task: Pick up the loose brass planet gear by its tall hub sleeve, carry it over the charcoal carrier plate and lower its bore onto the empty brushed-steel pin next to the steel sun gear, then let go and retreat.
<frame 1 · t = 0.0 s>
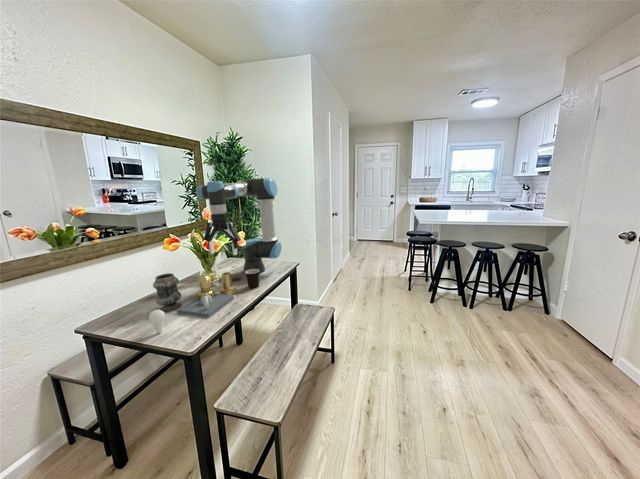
hand: (223, 254, 141), 28 cm above the table, fingers open, 13 cm apart
seated planet gear: (206, 296, 153), resting on carrier plate
planet gear: (228, 292, 162), on the table
lightbulb: (160, 333, 122), on the table
apothecary jar: (170, 307, 146), on the table
carrier plate: (207, 305, 146), on the table
coffee mug: (254, 285, 171), on the table
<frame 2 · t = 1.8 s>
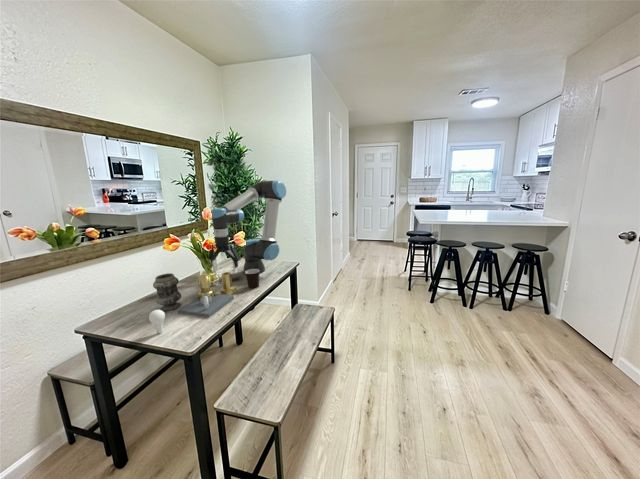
hand: (225, 271, 158), 13 cm above the table, fingers open, 13 cm apart
nothing on the table moved.
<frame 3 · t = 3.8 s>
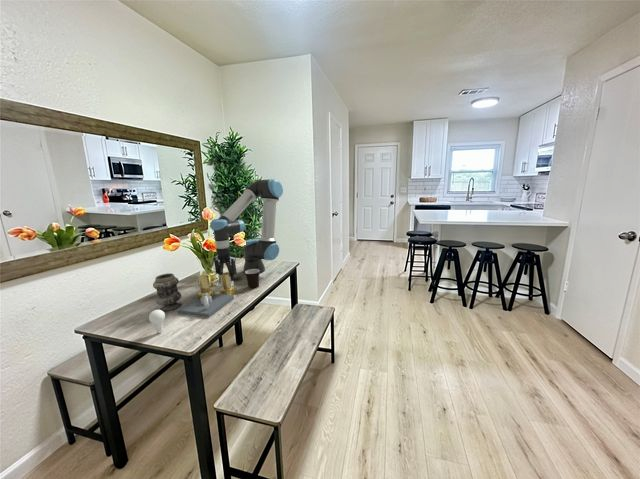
hand: (227, 285, 160), 5 cm above the table, fingers closed on planet gear, 5 cm apart
planet gear: (228, 292, 162), on the table, touching gripper
everything else where it was.
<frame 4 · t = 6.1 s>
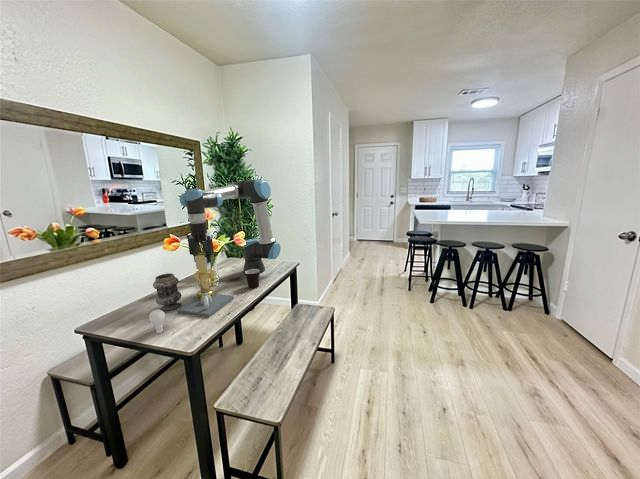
hand: (203, 268, 136), 23 cm above the table, fingers closed on planet gear, 5 cm apart
planet gear: (204, 277, 137), point 18 cm above the table, touching gripper
everything else where it was.
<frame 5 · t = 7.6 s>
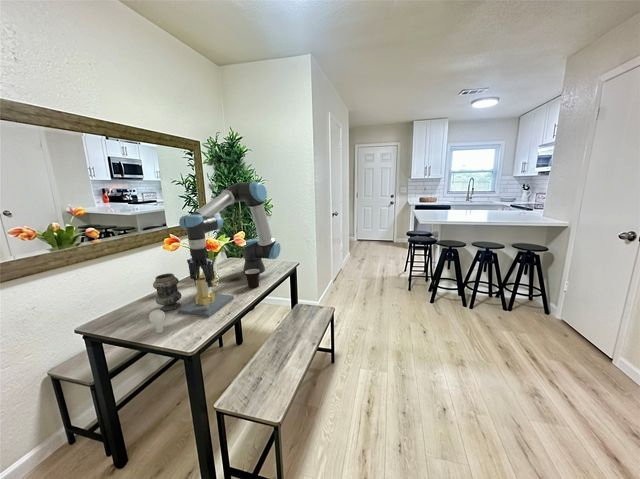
hand: (204, 292, 136), 11 cm above the table, fingers closed on planet gear, 5 cm apart
planet gear: (205, 301, 137), point 6 cm above the table, touching gripper
everything else where it was.
when the fingers open (8 cm above the table, at t = 8.6 s): planet gear stays where it is, resting on carrier plate.
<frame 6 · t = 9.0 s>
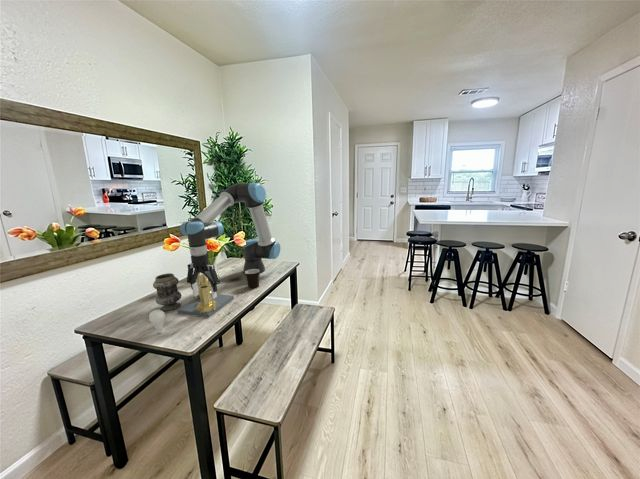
hand: (205, 296, 137), 9 cm above the table, fingers open, 10 cm apart
planet gear: (207, 309, 138), point 2 cm above the table, touching carrier plate
everything else where it was.
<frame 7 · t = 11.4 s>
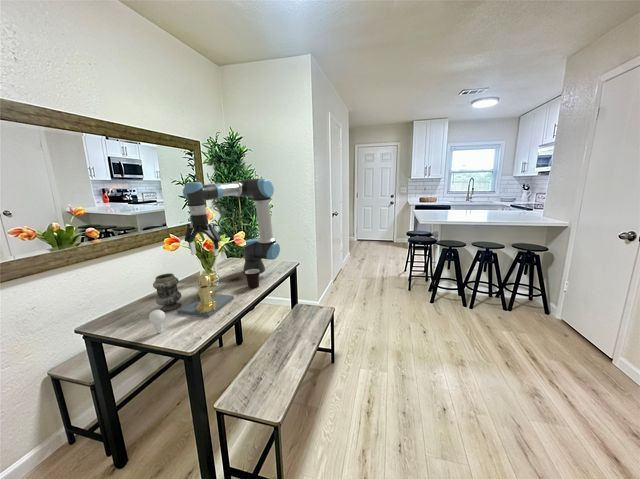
hand: (205, 254, 141), 28 cm above the table, fingers open, 13 cm apart
nothing on the table moved.
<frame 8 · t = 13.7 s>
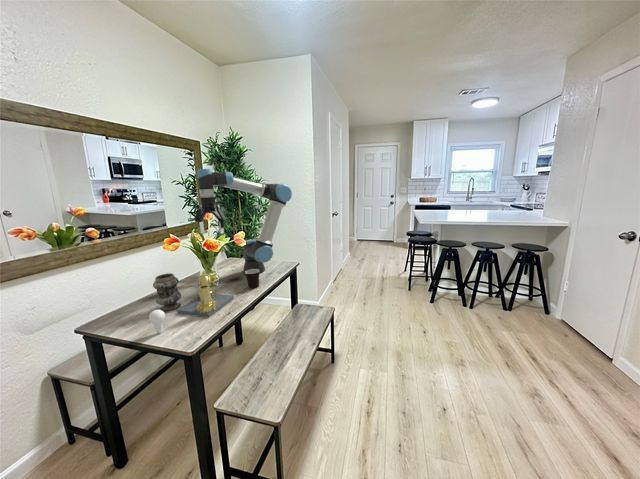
hand: (212, 233, 161), 35 cm above the table, fingers open, 13 cm apart
nothing on the table moved.
at the end: planet gear 0.0 cm from the target spot on the carrier plate, point 2.0 cm above the carrier plate's base; planet gear tilted 0°; the gripper is holding nothing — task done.
